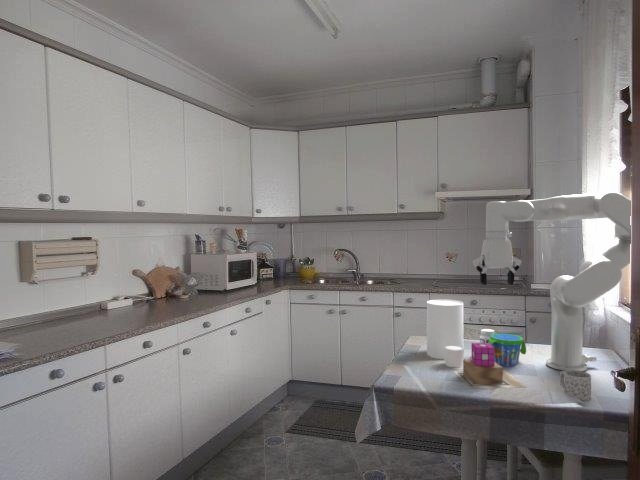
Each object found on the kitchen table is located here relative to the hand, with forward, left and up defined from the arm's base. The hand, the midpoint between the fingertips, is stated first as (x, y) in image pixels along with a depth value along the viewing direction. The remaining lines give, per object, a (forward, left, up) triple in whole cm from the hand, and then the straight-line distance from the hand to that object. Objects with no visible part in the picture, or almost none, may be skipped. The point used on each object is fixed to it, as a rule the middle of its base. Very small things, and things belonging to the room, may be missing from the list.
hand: (497, 284), depth 162 cm
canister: (+15, -12, -28) cm, 34 cm away
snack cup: (-2, +3, -28) cm, 29 cm away
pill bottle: (0, -8, -28) cm, 30 cm away
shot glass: (+17, +4, -28) cm, 33 cm away
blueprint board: (+11, +19, -28) cm, 36 cm away
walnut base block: (+13, +19, -27) cm, 36 cm away
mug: (-9, +31, -29) cm, 43 cm away
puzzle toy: (+13, +19, -22) cm, 32 cm away
